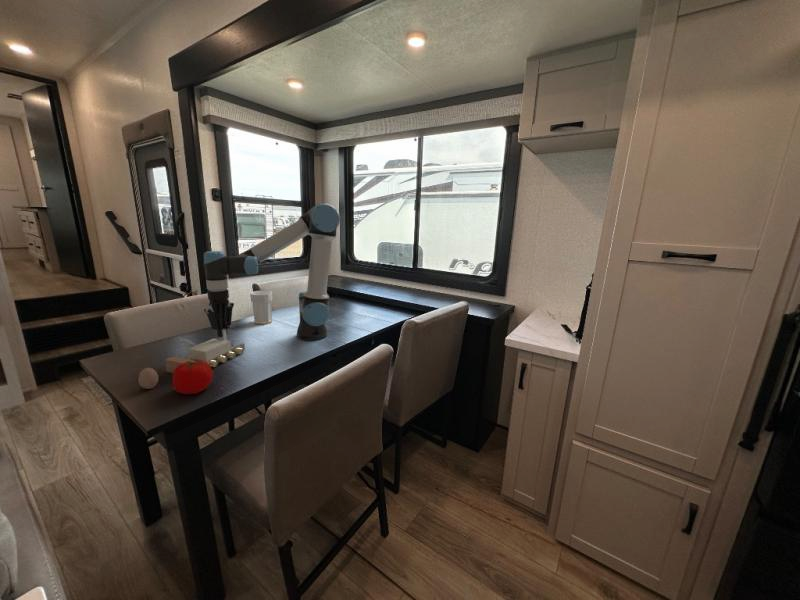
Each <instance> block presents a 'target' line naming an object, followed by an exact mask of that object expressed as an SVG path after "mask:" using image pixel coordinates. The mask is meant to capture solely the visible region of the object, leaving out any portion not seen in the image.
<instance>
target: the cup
mask: <svg viewBox="0 0 800 600" xmlns="http://www.w3.org/2000/svg"><path fill="white" fill-rule="evenodd" d="M249 293H250V294H249V295H250V302H251V304H252V312H253V319H254V324H255V325H258V326H263V325H269V324H271V323H272V322H273V313H272V309H273V308H272V301H273V291H271V290H256V291H251V292H249Z"/></svg>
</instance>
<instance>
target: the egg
mask: <svg viewBox="0 0 800 600" xmlns="http://www.w3.org/2000/svg"><path fill="white" fill-rule="evenodd" d="M159 379H160V378H159V374H158V373H157V371H156V370H155V369H153V368H152V367H145V368H143V369H142V370H141V371H140V372H139V375H138V380H137V381H138V384H139V386H140V387H141V388H143V389H147V390H151V389H153V388H155V386H157V384H158V383H159Z"/></svg>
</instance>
